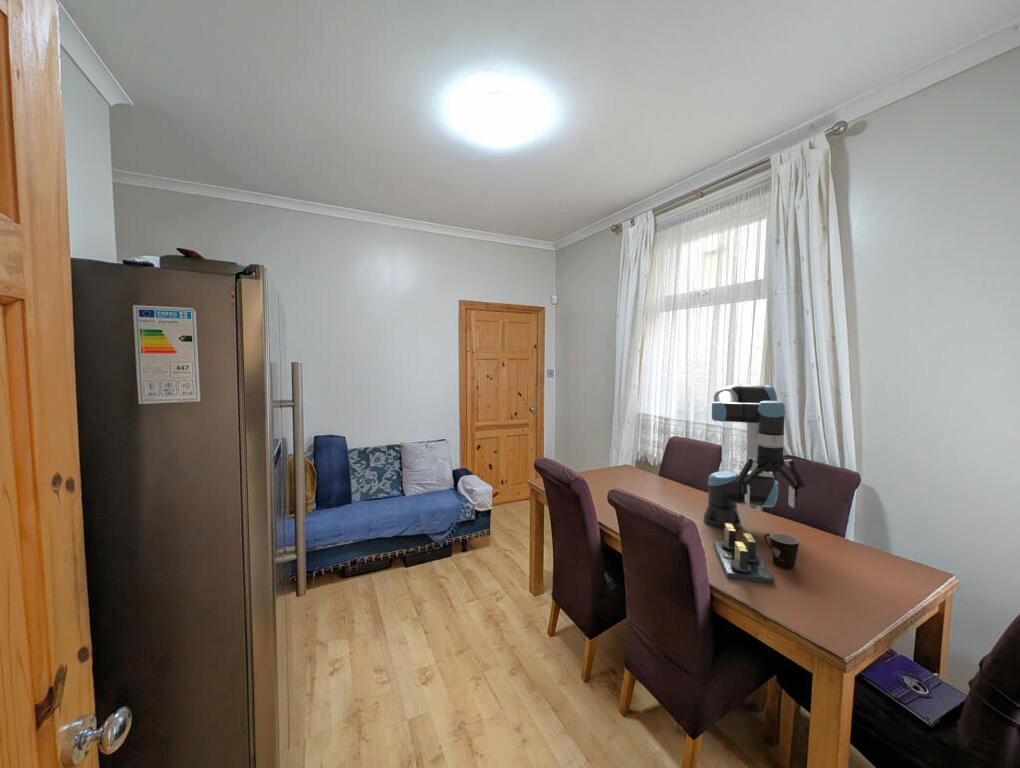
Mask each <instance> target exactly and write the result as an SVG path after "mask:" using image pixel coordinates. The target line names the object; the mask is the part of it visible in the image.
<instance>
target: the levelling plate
mask: <svg viewBox="0 0 1020 768" xmlns="http://www.w3.org/2000/svg"><path fill="white" fill-rule="evenodd" d="M713 547H714V550H715V552H716V555H717V557H718V560H719V561H720V564H721V567H722V569H723V570H724V574H725V576H726V578H727V579H729V580H730V579H731V580H736V581H737V580H738V581H745V582H752V583H759V584H767V585H775V577H774V576H773V574H772V572H771V571H770V570H769V568H768V567H767V565H766V563H765V562H764V560H763V558H762V557H761V556H760V553H759V552H758V551H757V550H756V554H757V555H758V556H759V561H758V562H757V563H750V562H748V563H749V564H750V565H751V572H749V573H742V572H738V571H736V570H734V569H733V568H732V567H731V561H732V560H735V551H732V550H727V549H725V548H723V547H722V546H721V541H716V540H714V541H713Z"/></svg>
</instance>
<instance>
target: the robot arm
mask: <svg viewBox="0 0 1020 768" xmlns="http://www.w3.org/2000/svg"><path fill="white" fill-rule="evenodd" d="M777 396H778V395H777V392H776V389H775V388H774V386H772V385H767V384H731V385H726V386H723V387H721V388H719V389H718V390H717V391H715V393H714V395H713V402H712V403H711V420H713V422H714V421H715V422H721V423H723V422H724V423H725V422H729V423H743V424H744V423H746V463H745V465H744V466H743V468H742V469H741V471H740V472H739V474H737V473H736V472H734V471H726V470H725V471H724V470H722V471H715V472H713V473H712V472H711V474H709V476H708V482H707V485H708V496H707V506H706V509H705V512H704V514H703V522H705V524H707V525H709V526H711V527H714V528H716V529H721V530H725V523H731V524H732V525H733V527H734V529H735V530H739V529H740V528H741V527H742V520H741V517H740V513H739V510H738V504H742V505H749V506H755V507H756V506H757V507H761V508H763V507H765V508H773V507H775V505H776V503H777V500H778V495H779V481H778V480H775V476H774V475H773V474H772V473H774V474H775V473H777V472H778V473H779V474H780V475H781V476H782V477H783V478H784V480H786V482H788V484H789V485H790V486H788V503H787V505H788V506H790V508H793V509H795V499H796V498H798V495H799V492H798V490H800V488H804V487H806V486H805V484H804V481H803V480H802V478H801V476H800V474H799V473H798V471H797V469H796V465H795V461H794V460H792V459H790V458H788V459H784V447H783V446H784V443H785V442H784V441H785V419H786V418H785V415H786V409H785V408H786V407H785V403H784V402H783V401H779V400H778V398H777ZM784 465H786V466H787V468H788V469H789V471H790V472H791V475H792V476H793V478H794V480H795V481H796V482H794V480H793V479H792V478H791V477H790V476H789V474H787V473H786V471H785V470H784V468H782V467H784Z"/></svg>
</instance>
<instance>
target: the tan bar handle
mask: <svg viewBox="0 0 1020 768" xmlns="http://www.w3.org/2000/svg"><path fill="white" fill-rule="evenodd" d="M731 567H732V568H733V569H734V570H736V571H738V572H742V573H749V572H751V565H750V564H749V563H748V550H747V549H746V547H745V545H744V544H743V541H738V540H736V541H735V560H732V561H731Z"/></svg>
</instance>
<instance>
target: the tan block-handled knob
mask: <svg viewBox="0 0 1020 768" xmlns="http://www.w3.org/2000/svg"><path fill="white" fill-rule="evenodd" d="M735 541H737V529H734V527H733V525H732V524H731V523H725V529H724V539H722V540H721V541H720V542H721V546H722V547H723V548H725V549H727V550H732V551H735Z"/></svg>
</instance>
